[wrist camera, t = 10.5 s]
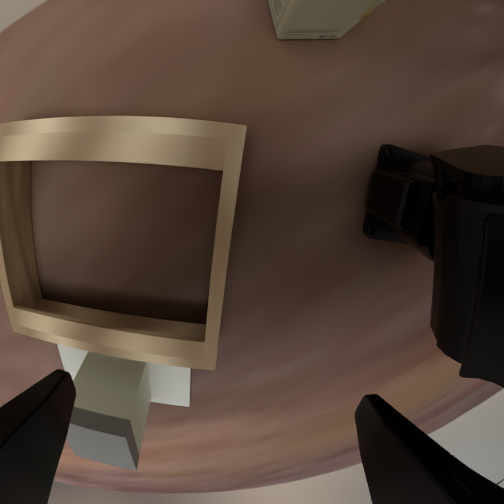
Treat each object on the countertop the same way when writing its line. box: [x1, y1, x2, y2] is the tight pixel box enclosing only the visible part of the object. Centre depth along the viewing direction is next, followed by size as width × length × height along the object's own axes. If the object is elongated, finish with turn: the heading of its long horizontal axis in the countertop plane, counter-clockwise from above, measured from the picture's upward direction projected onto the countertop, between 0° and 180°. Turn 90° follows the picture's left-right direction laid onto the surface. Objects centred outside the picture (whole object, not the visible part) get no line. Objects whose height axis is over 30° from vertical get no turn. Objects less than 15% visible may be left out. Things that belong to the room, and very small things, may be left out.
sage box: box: [66, 351, 151, 471], centre depth 19 cm, size 5×5×8 cm
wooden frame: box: [0, 116, 247, 370], centre depth 17 cm, size 16×15×4 cm
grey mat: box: [57, 344, 191, 407], centre depth 23 cm, size 12×6×1 cm, turn 81°
